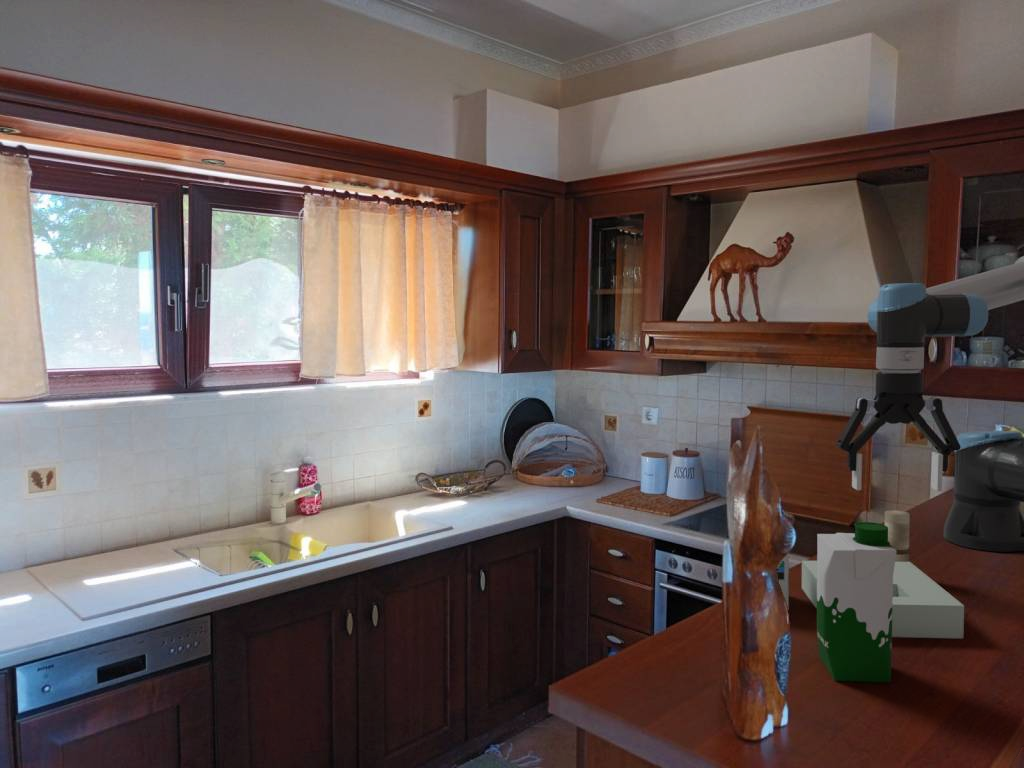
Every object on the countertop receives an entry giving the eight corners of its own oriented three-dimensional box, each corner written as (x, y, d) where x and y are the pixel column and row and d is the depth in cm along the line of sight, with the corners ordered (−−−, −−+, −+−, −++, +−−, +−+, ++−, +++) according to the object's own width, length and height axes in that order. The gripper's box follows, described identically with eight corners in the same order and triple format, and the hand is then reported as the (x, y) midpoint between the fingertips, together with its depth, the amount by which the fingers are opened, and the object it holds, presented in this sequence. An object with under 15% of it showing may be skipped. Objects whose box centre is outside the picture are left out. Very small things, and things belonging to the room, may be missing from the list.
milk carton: (900, 686, 98) (903, 535, 97) (828, 684, 99) (829, 535, 98) (875, 655, 107) (877, 517, 105) (809, 654, 108) (810, 517, 106)
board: (909, 589, 132) (909, 561, 131) (963, 638, 112) (964, 605, 111) (801, 588, 134) (801, 560, 133) (836, 635, 114) (836, 603, 114)
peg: (903, 574, 139) (904, 510, 138) (912, 582, 135) (913, 516, 134) (880, 573, 140) (881, 510, 139) (888, 581, 136) (889, 516, 135)
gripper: (832, 373, 132) (829, 492, 134) (985, 372, 129) (980, 494, 131) (820, 370, 139) (818, 483, 141) (964, 369, 136) (960, 484, 138)
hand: (896, 489), depth 136 cm, fingers open, 13 cm apart
